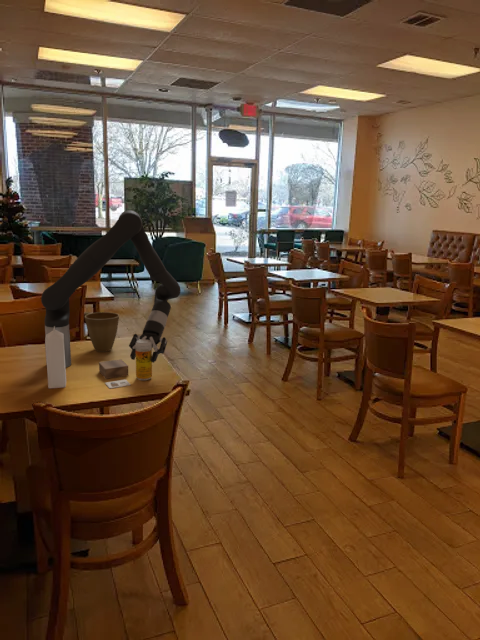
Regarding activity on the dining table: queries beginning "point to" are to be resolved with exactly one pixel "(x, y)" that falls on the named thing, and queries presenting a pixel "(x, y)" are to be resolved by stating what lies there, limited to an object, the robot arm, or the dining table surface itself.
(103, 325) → the plant pot
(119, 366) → the base brick
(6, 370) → the dining table surface
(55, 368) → the milk
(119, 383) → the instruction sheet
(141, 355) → the yellow canister
